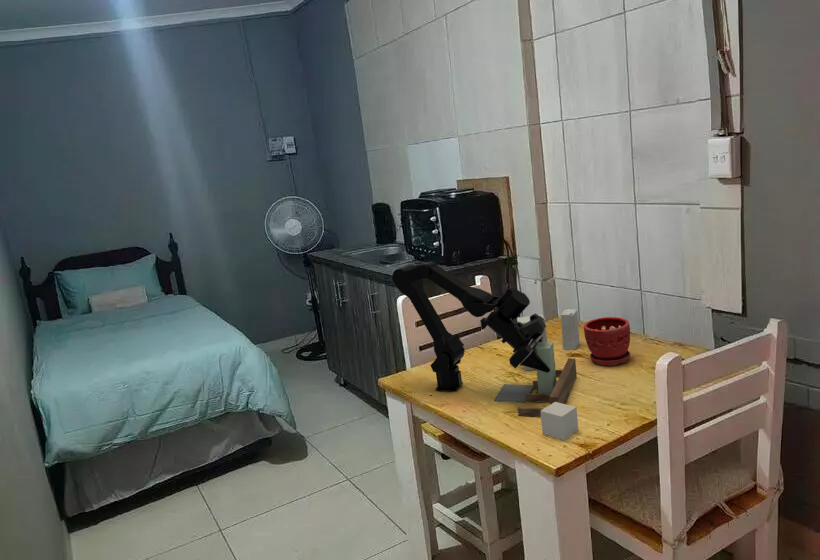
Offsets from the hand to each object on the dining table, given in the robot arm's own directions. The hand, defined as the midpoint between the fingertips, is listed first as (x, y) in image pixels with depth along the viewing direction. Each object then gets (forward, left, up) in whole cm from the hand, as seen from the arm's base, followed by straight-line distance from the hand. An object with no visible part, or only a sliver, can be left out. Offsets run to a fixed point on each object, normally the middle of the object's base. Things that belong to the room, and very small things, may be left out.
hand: (551, 367), depth 167 cm
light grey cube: (+6, -21, -8) cm, 23 cm away
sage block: (-1, 0, -7) cm, 7 cm away
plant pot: (+12, +27, -8) cm, 31 cm away
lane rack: (-1, 0, -8) cm, 8 cm away
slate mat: (-11, 0, -8) cm, 13 cm away
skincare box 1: (-9, +21, -8) cm, 24 cm away
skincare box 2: (-1, +39, -8) cm, 40 cm away
